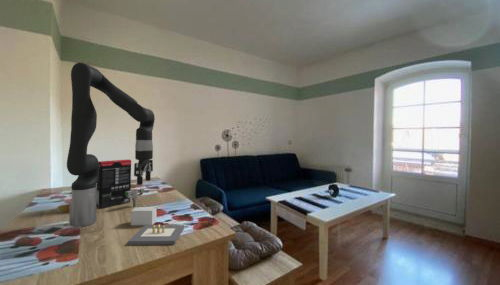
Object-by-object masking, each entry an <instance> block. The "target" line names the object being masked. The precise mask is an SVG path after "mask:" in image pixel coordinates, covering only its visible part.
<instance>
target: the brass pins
mask: <svg viewBox="0 0 500 285" xmlns="http://www.w3.org/2000/svg"><path fill="white" fill-rule="evenodd" d="M157 225H158V226H157V233H159V232H160V225H162V233H164V232H165V225H166V224H157ZM152 233H155V224H153V228H152Z"/></svg>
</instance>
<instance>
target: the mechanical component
mask: <svg viewBox="0 0 500 285" xmlns="http://www.w3.org/2000/svg"><path fill="white" fill-rule="evenodd" d="M143 194H144V188H140V189H139V191H138V189H131V190H130V191H126V192H125V195H126V197H128V198H130V199H131V200H132V207H133V208H136V207H137V200H138V197H140V196H142V195H143Z"/></svg>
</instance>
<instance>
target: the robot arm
mask: <svg viewBox="0 0 500 285" xmlns="http://www.w3.org/2000/svg"><path fill="white" fill-rule="evenodd" d="M70 80H71V81H70V82H71V96H72V97H71V98H72V99H71V100H72V101H71V104H72V106H71V118H70V120H71V121H70V127H71V128H70V138H69V148H68V153H67V160H66V169H67V171H68V173H70V174H71V175H72V176H77V178H76V179H75V180H74V181H73V182H72V183H71V204H72V205H70V206H69V213H68V214H69V221H68V222H69V226H70V227H73V228H81V227H87V226H90V225H93V224H94V223H96V222H97V206H96V189H97V181H98V175H99V160H98V158H97V156H96V155H95V154H92V153H91V154H90V153H88V145H89V142H90V140H92V137H93V136H94V133H95V132H96V130H97V118H98V116H97V110H96V107H95V105H94V103H93V100H92V97H91V88H94V89H95V90H98V91H100V92H101V93H103V94H104V95H105V96H106V97H108V98H109V99H110V101H111V102H113V104H114V105H116V106H117V107H118V108H120V109H122V110H123V111H124V112H126V113H127V114H128V115H129V116H130V118H132V119H133V120H135V121H136V122H138V123H139V127H137V129H136V130H135V145H134V147H135V153H134V154H135V156H134V158H135V160H137V161H138V162H135V163H134V165H133V170H134V171H133V176H134V177H136V185H137V186H139V185H140V186H142V185H143V182H144V180H143V178H144V177H143V175H144V173H145V181H147V182H149V181H151V175H152V174H151V173H152V172H153V171H154V166H153V165H154V162H153V161H154V160H153V158H154V154H153V153H154V145H153V130H154V126H155V125H154V124H155V118H156V117H155V114H154V112H153V111H152V109H149V108H146V107H144V106H142V105H141V104H139V103H138V102H137V100H136V99H135V98H133V97H132V96H130V95H129V94H127V93H126V92H125V91H123V90H122V89H120V88H119V87H118V86H116V85H115V84H113V82H111V81H110V80H109V79H108V78H107V77H106V76H105V75H104V74H103V73H102V72H101V71H100V70H99V69H97V68H96V67H93V66H91V65H90V64H87V63H85V62H76V63H75V64H74V65H73V66H72V68H71V71H70Z"/></svg>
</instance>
